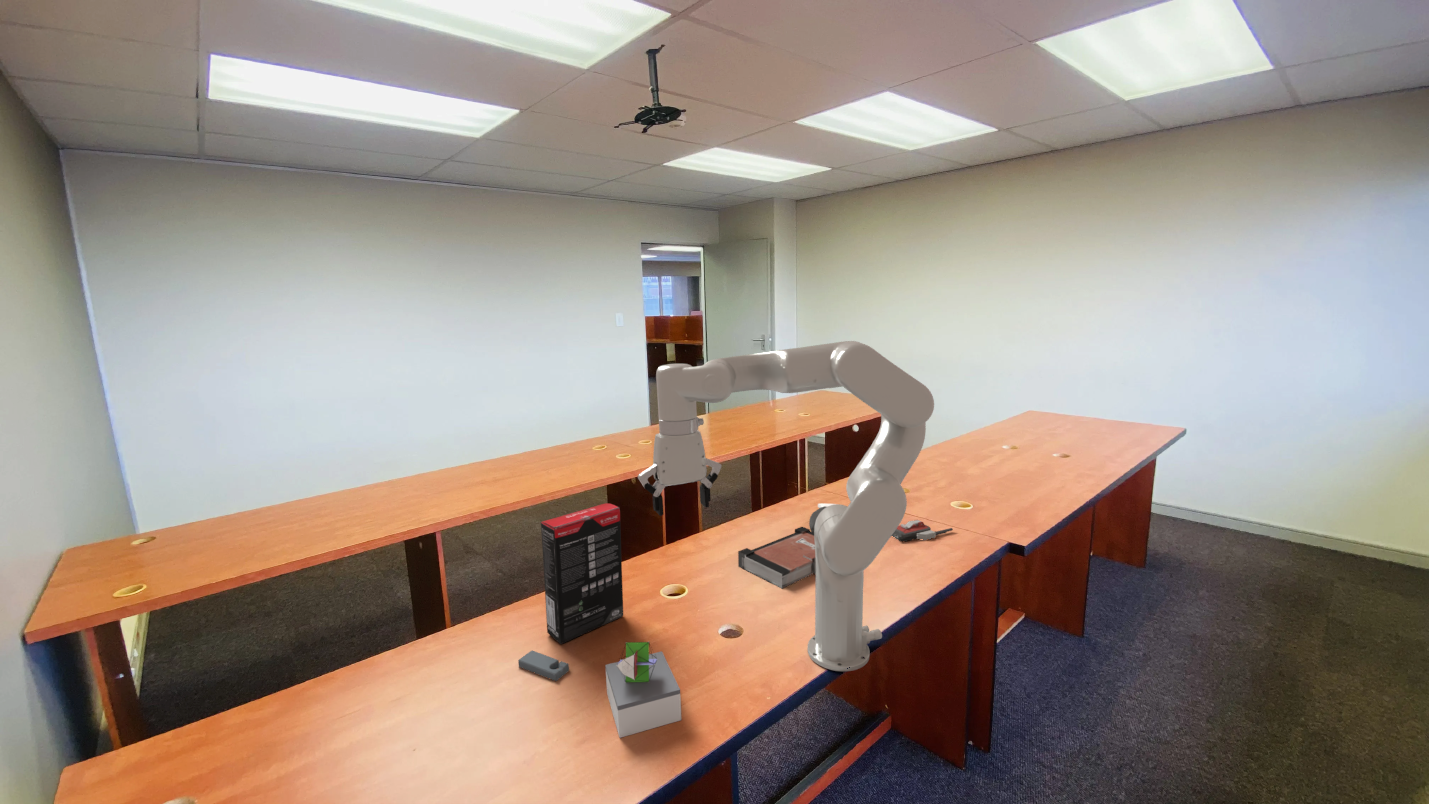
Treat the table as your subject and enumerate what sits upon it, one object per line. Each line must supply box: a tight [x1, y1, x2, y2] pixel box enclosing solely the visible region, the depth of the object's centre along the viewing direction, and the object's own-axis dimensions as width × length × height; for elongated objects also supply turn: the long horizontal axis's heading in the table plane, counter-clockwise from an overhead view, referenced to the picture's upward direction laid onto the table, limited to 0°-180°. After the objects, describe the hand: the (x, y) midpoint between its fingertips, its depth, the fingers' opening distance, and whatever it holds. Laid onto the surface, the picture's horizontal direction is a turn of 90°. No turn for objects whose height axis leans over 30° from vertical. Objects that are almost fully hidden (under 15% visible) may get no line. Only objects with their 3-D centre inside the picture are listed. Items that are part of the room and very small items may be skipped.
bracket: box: [517, 650, 570, 682], centre depth 115 cm, size 4×10×2 cm, turn 62°
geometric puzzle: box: [616, 641, 657, 683], centre depth 102 cm, size 7×7×8 cm
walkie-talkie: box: [892, 519, 954, 542], centre depth 176 cm, size 9×4×20 cm
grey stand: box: [604, 651, 682, 738], centre depth 103 cm, size 11×12×6 cm
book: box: [737, 526, 816, 590], centre depth 159 cm, size 26×18×5 cm
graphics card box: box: [540, 502, 624, 645], centre depth 128 cm, size 17×7×27 cm, turn 134°
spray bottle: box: [808, 503, 836, 532], centre depth 190 cm, size 3×11×24 cm
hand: (682, 509), depth 115 cm, fingers open, 9 cm apart
